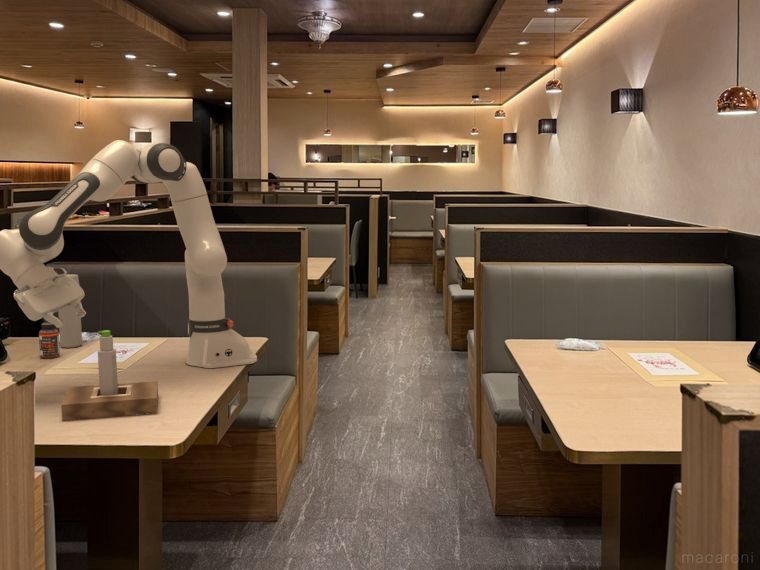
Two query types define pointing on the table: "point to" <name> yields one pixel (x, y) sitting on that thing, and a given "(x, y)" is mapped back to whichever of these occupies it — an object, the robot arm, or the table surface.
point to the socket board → (110, 401)
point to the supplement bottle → (49, 341)
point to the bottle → (107, 365)
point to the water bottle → (70, 324)
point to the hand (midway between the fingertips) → (72, 320)
